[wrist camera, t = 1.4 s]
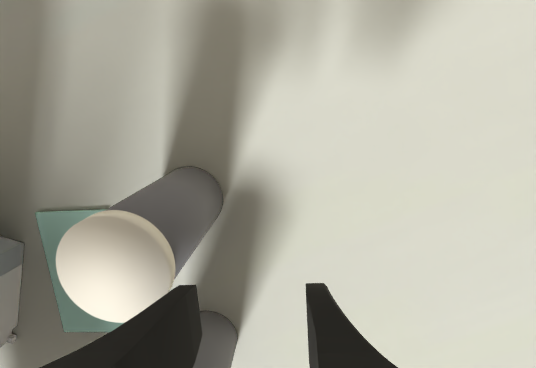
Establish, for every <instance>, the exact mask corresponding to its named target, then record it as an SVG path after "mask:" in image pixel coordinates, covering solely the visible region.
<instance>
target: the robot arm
mask: <svg viewBox="0 0 536 368" xmlns="http://www.w3.org/2000/svg"><path fill="white" fill-rule="evenodd" d="M306 302H307V324H308V346H309V364H310V368H398V367H396V366H395V365H394V364H392V363H391V362H390V361H388V360H387V359H386V358H385V357H384V356H382V355H381V354H380V353H379V352H378V351H377V350H376V349H375V348H374V347H373V346H372V345H371V344H370V343H369V342H368V341H367V340H366V339H365V338H364V337H363V336H362V335H361V334H360V333H359V332H358V330H357V329H356V328H355V327H354V326H353V325H352V323H351V322H350V321H349V320H348V318H347V317H346V316H345V314H344V313H343V312H342V310H341V309H340V308H339V306H338V305H337V303H336V302H335V300H334V299H333V297H332V295H331V294H330V292H329V290H328V288H327V286H326V285H325V284H324V283H307V284H306ZM202 335H203V334H202V327H201V319H200V312H199V304H198V297H197V289H196V285H179V286H178V287H176V288H174V289H173V290H171V291H170V292H168V293H167V294H165V295H164V296H163V297H161V298H160V299H158V300H157V301H156V302H154V303H153V304H151V305H150V306H149V307H147V308H146V309H144V310H143V311H142V312H140V313H139V314H137V315H136V316H134V317H133V318H131V319H130V320H128V321H127V322H125V323H124V324H122V325H120V326H119V327H117V328H116V329H114V330H113V331H111V332H109V333H108V334H106V335H104V336H103V337H101V338H99V339H98V340H96V341H94V342H92V343H90V344H88V345H86V346H85V347H83V348H81V349H79V350H77V351H75V352H73V353H71V354H69V355H66V356H64V357H62V358H60V359H58V360H56V361H53V362H51V363H49V364H47V365H45V366H43V367H40V368H193V366H194V363H195V361H196V357H197V354H198V350H199V346H200V342H201V339H202Z"/></svg>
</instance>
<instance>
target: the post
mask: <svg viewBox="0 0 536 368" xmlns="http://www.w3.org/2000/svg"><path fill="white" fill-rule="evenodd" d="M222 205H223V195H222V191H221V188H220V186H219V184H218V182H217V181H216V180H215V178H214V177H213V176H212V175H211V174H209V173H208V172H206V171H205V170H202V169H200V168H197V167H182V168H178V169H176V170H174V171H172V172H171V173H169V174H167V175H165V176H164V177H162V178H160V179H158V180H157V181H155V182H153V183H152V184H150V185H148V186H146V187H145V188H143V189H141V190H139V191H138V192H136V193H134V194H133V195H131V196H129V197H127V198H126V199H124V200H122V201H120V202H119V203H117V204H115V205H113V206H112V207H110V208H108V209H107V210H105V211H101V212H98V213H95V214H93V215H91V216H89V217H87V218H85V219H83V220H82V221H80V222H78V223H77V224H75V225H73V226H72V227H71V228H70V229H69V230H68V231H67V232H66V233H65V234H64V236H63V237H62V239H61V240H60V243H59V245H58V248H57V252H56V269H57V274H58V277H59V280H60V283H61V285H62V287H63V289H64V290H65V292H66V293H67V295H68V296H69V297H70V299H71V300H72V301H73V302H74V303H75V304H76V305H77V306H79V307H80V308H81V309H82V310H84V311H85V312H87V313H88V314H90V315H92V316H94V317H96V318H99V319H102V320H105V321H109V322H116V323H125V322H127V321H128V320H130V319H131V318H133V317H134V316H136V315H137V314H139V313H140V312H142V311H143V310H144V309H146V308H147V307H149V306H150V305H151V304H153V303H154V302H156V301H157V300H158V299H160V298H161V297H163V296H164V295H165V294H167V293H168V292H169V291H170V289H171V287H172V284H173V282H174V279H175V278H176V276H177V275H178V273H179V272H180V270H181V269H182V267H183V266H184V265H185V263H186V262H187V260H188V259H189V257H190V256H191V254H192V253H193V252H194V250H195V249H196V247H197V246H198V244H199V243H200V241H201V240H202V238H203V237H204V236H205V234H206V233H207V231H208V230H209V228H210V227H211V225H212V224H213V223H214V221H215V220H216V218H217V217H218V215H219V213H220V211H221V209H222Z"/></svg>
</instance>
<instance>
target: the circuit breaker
mask: <svg viewBox="0 0 536 368" xmlns="http://www.w3.org/2000/svg"><path fill="white" fill-rule="evenodd" d="M23 252H24V243H22V242H18V241H15V240H12V239H8V238H5V237H1V236H0V347H2V346H3V345H4V344H5V343H6V342H8V343H13V342H14V341H15V340H16V336H17V335H14V334H12V329H13V328H14V327H16V326H17V324H18V312H19V300H20V288H21V277H22V265H23V264H22V263H23Z"/></svg>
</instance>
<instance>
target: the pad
mask: <svg viewBox="0 0 536 368" xmlns="http://www.w3.org/2000/svg"><path fill="white" fill-rule="evenodd" d="M105 210H107V209H97V210H72V211H46V212H36V213H35V215H36V219H37V223H38V227H39V231H40V235H41V239H42V243H43V247H44V252H45V256H46V260H47V264H48V268H49V272H50V276H51V280H52V284H53V288H54V292H55V297H56V301H57V305H58V309H59V313H60V317H61V321H62V325H63V329H64V332H111V331H113V330H114V329H116V328H117V327H119V326H120V325H122V324H124V323H116V322H109V321H105V320H102V319H99V318H96V317H94V316H92V315H90V314H88V313H87V312H85V311H84V310H82V309H81V308H80V307H79V306H77V305H76V304H75V303H74V302H73V301H72V300H71V299H70V297H69V296H68V295H67V293H66V292H65V290H64V289H63V287H62V285H61V283H60V280H59V277H58V274H57V269H56V252H57V248H58V245H59V243H60V240H61V239H62V237H63V236H64V234H65V233H66V232H67V231H68V230H69V229H70V228H71V227H72V226H73V225H75V224H77V223H78V222H80V221H82V220H83V219H85V218H87V217H89V216H91V215H93V214H95V213H98V212H101V211H105Z"/></svg>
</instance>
